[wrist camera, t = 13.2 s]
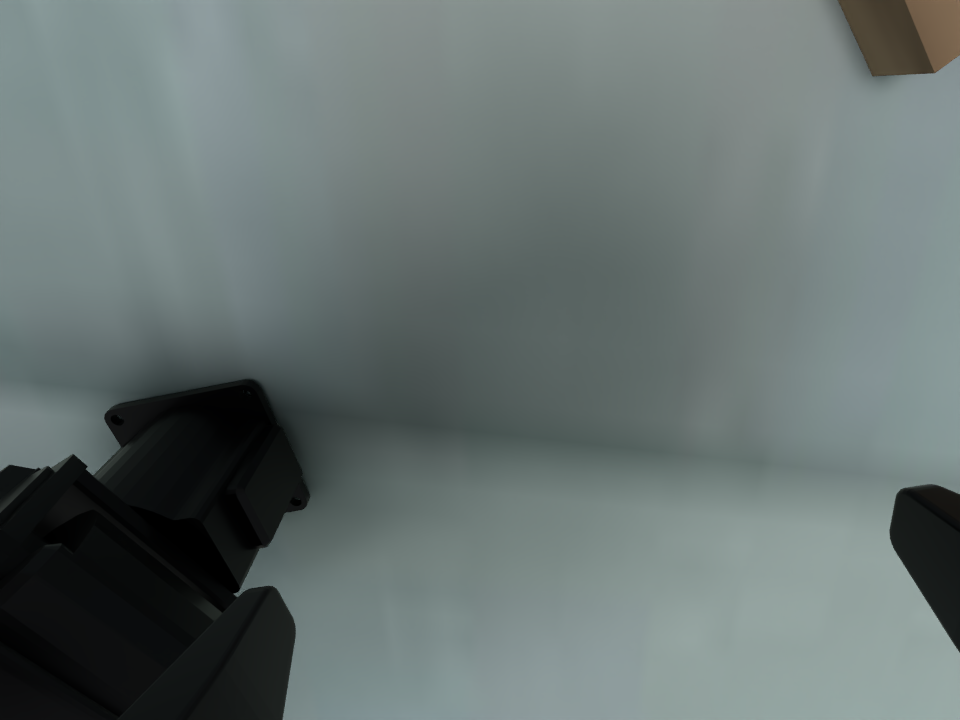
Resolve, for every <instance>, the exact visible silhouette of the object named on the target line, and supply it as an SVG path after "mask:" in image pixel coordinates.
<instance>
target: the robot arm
mask: <svg viewBox="0 0 960 720" xmlns="http://www.w3.org/2000/svg"><path fill="white" fill-rule="evenodd" d="M243 390H246V391H248V392H250V393H251V394H252V396H247V395H245V393H244V392H243ZM117 415H118V416H120V417H122V418H123V420H122V419H120V418H119V417H118V416H117ZM104 419H105V421H106V423H107V425H108V427H109V428H110V430H111V431H112V433H113V434H114V436H115V438H116V439H117V441H118V442H119V444H120V446H121V448H120V449H119V450H118V451H117V452H116V453H115V454H114V455H113V456H112V457H111V458H110V459H109V460H108V461H107V462H106V463H105V464H104V465H103V466H102V467H101V468H100V469H99V470H98V471H97V472H96V473H95V474H94V475H92V474H90V473H89V472H88V471H87V470H86V468H87V465H85V464H84V463H83V462H82V461H81V460H80V459H78V458H77V457H76V456H75V455H74V454H72V455H71V456H69V457H68V458H66V459H64V460H63V461H61V462H60V463H58V464H56V465H55V466H53V467H52V468H50V467H49V466H46V467H45V468H43V469H40V468H37V469H31V468H25V467H19V466H13V465H9V466H7V467H6V468H4V469H3V470H1V471H0V720H283V713H284V707H285V700H286V694H287V688H288V681H289V675H290V668H291V662H292V656H293V649H294V643H295V635H296V628H295V623H294V619H293V617H292V615H291V614H290V612H289V610H288V608H287V606H286V604H285V603H284V601H283V599H282V597H281V595H280V593H279V592H278V590H277V589H276V588H275V587H273V586H264V587H258V588H251V589H248V590H246V591H244V592H243V593H242V594H241V595H240V596H239V597H237V596H235V595H234V594H233V593H237V592H238V591H239V590H240V588H241V586H242V584H243V582H244V580H245V578H246V576H247V574H248V572H249V569H250V567H251V565H252V563H253V561H254V559H255V557H256V555H257V553H258V551H259V549H260V548H265V547H268V545H269V544H270V542H271V541H272V539H273V537H274V535H275V533H276V530H277V528H278V526H279V524H280V522H281V520H282V517H283V515H284V513H286V512H292V511H298V510H302V509H304V508H305V507H306V506H307V503H308V501H309V498H310V495H309V492H308V490H307V488H306V486H305V484H304V481H303V479H302V477H301V476H302V470H301V468H300V466H299V464H298V462H297V459H296V457H295V455H294V453H293V450H292V448H291V446H290V444H289V442H288V439H287V437H286V435H285V433H284V431H283V429H282V427H280V426H279V425H278V424H277V422H276V420H275V418H274V416H273V413H272V411H271V409H270V407H269V405H268V402H267V400H266V398H265V396H264V394H263V391H262V389H261V388H260V386H259V385H258V384H257V383H255V382H254V381H251V380H242V381H237V382H232V383H227V384H222V385H217V386H211V387H206V388H201V389H196V390H191V391H186V392H180V393H175V394H170V395H165V396H160V397H154V398H149V399H144V400H139V401H134V402H129V403H123V404H118V405H115V406H113V407H112V408H111V409H110V410H108V411H107V412H106V414H105V417H104ZM294 497H297V498H299V499H300V500H297V499H295V498H294ZM890 539H891V543H892V545H893V548H894V550H895V551H896V553H897V555H898V556H899V558H900V559H901V561H902V563H903V564H904V566H905V567H906V569H907V571H908V572H909V574H910V575H911V577H912V578H913V580H914V582H915V583H916V585H917V586H918V588H919V590H920V591H921V593H922V594H923V596H924V597H925V599H926V601H927V602H928V604H929V605H930V607H931V609H932V610H933V612H934V613H935V615H936V616H937V618H938V620H939V621H940V623H941V624H942V626H943V628H944V629H945V631H946V632H947V634H948V635H949V637H950V639H951V640H952V642H953V643H954V645H955V646H956V648H957V649H958V651H959V652H960V494H958V493H955V492H953V491H951V490H948V489H946V488H944V487H941V486H938V485H933V484H927V485H920V486H914V487H907V488H903V489H901V490H900V491H899V492H898V493H897V495H896V499H895V504H894V510H893V515H892V520H891V526H890Z"/></svg>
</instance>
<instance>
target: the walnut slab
mask: <svg viewBox="0 0 960 720" xmlns="http://www.w3.org/2000/svg"><path fill="white" fill-rule="evenodd" d="M838 1H839V4H840V6H841V8H842V10H843V12H844V15H845V17H846V19H847V21H848V23H849V25H850V28H851V30H852V32H853V34H854V36H855V39H856V41H857V43H858V45H859V47H860V50H861V52H862V54H863V56H864V58H865V61H866V63H867V65H868V67H869V69H870V71H871V74H872V76H886V75H907V74H927V73H936V72H937V71H938V70H940V69H941V68H942V67H944V66H945V65H947V64H948V63H949V62H951V61H952V60H953V59H955V58H956V57H958V56H959V55H960V0H838Z"/></svg>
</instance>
